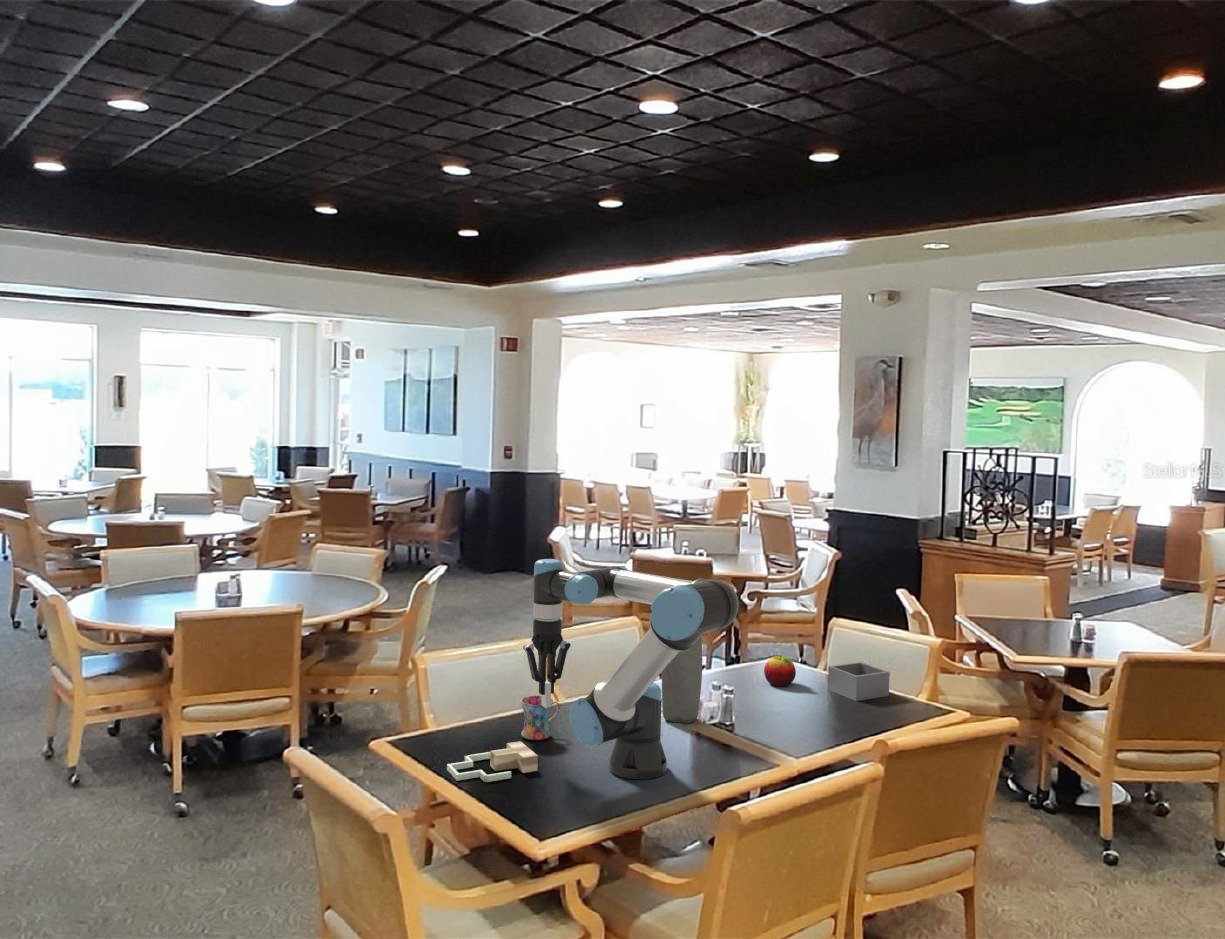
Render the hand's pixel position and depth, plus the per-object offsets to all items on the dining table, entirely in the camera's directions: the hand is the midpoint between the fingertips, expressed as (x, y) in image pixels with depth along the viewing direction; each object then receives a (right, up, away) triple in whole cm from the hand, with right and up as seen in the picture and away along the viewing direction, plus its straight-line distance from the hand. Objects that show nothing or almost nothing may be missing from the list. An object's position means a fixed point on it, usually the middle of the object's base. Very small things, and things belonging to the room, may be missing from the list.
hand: (546, 706), depth 261 cm
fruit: (+75, -11, +76) cm, 107 cm away
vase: (+38, -13, +36) cm, 54 cm away
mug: (-3, -14, +20) cm, 24 cm away
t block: (-9, -15, -4) cm, 18 cm away
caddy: (+100, -12, +67) cm, 121 cm away
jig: (-17, -15, -8) cm, 24 cm away
